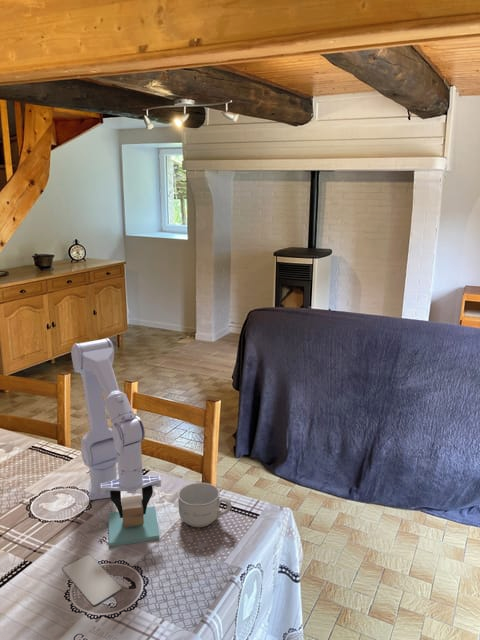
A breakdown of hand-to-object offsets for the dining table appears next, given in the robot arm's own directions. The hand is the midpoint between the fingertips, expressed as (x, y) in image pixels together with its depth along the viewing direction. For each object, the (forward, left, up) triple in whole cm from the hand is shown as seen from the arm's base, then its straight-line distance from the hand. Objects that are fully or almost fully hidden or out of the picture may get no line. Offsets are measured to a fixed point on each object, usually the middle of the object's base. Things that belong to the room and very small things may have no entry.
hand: (132, 513), depth 129 cm
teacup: (+2, +18, -4) cm, 19 cm away
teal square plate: (0, 0, -4) cm, 4 cm away
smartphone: (+16, -10, -4) cm, 19 cm away
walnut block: (0, 0, -2) cm, 2 cm away
